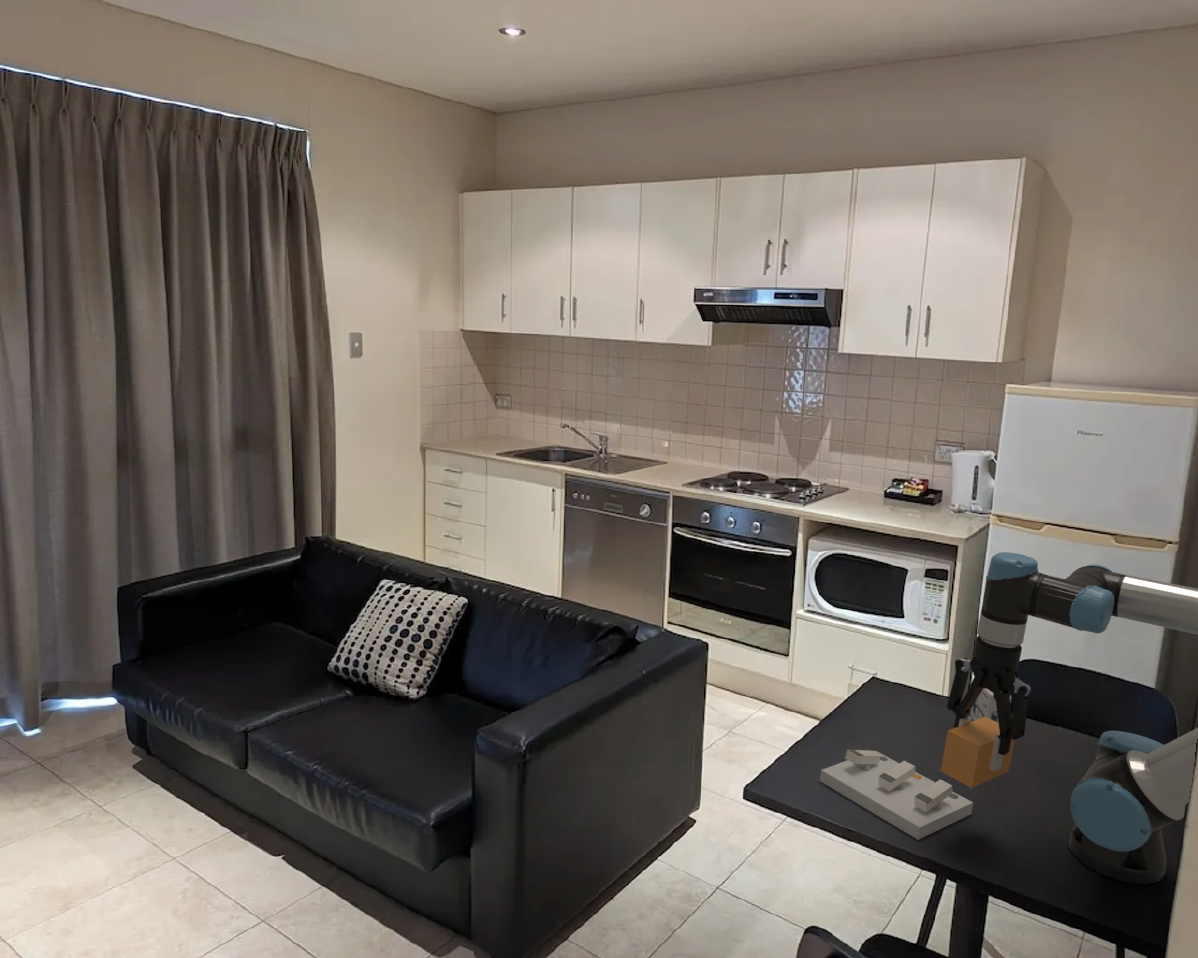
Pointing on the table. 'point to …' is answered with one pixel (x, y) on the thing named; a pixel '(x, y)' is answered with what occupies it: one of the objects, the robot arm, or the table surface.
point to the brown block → (973, 752)
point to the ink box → (985, 706)
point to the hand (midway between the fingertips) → (977, 759)
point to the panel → (894, 797)
